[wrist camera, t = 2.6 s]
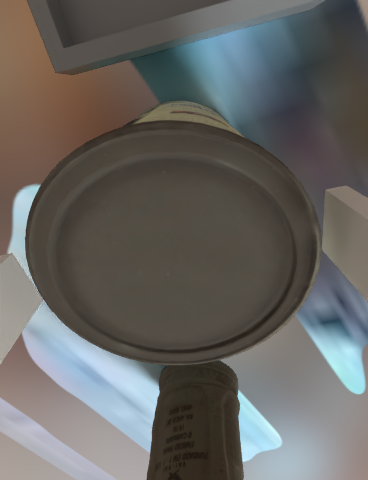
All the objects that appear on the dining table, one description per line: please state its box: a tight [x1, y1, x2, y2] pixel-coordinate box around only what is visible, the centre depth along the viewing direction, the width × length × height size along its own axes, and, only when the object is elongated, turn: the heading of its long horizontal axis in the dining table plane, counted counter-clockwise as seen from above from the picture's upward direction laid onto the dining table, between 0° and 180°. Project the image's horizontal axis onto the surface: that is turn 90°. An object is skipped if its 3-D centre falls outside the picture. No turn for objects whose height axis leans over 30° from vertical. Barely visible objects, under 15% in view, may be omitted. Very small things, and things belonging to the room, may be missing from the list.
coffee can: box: [25, 101, 322, 365], centre depth 15 cm, size 10×10×14 cm
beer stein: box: [147, 360, 244, 480], centre depth 28 cm, size 15×11×20 cm
